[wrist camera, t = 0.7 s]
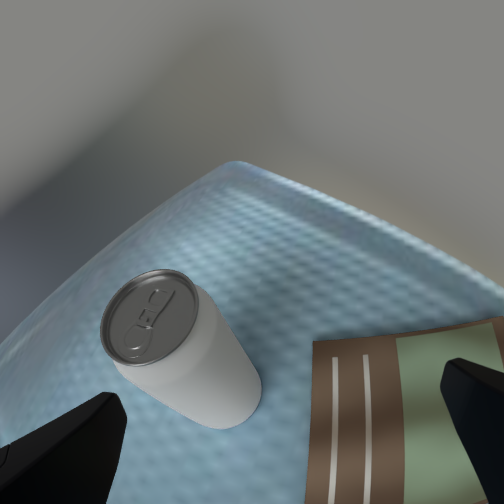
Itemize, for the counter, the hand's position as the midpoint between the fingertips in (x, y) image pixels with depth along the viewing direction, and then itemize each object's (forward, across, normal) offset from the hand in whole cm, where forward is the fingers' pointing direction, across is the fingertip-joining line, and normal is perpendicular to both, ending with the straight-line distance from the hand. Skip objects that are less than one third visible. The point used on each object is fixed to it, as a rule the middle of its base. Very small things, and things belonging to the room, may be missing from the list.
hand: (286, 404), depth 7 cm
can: (+13, +4, +10) cm, 17 cm away
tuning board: (+7, -10, +11) cm, 17 cm away
